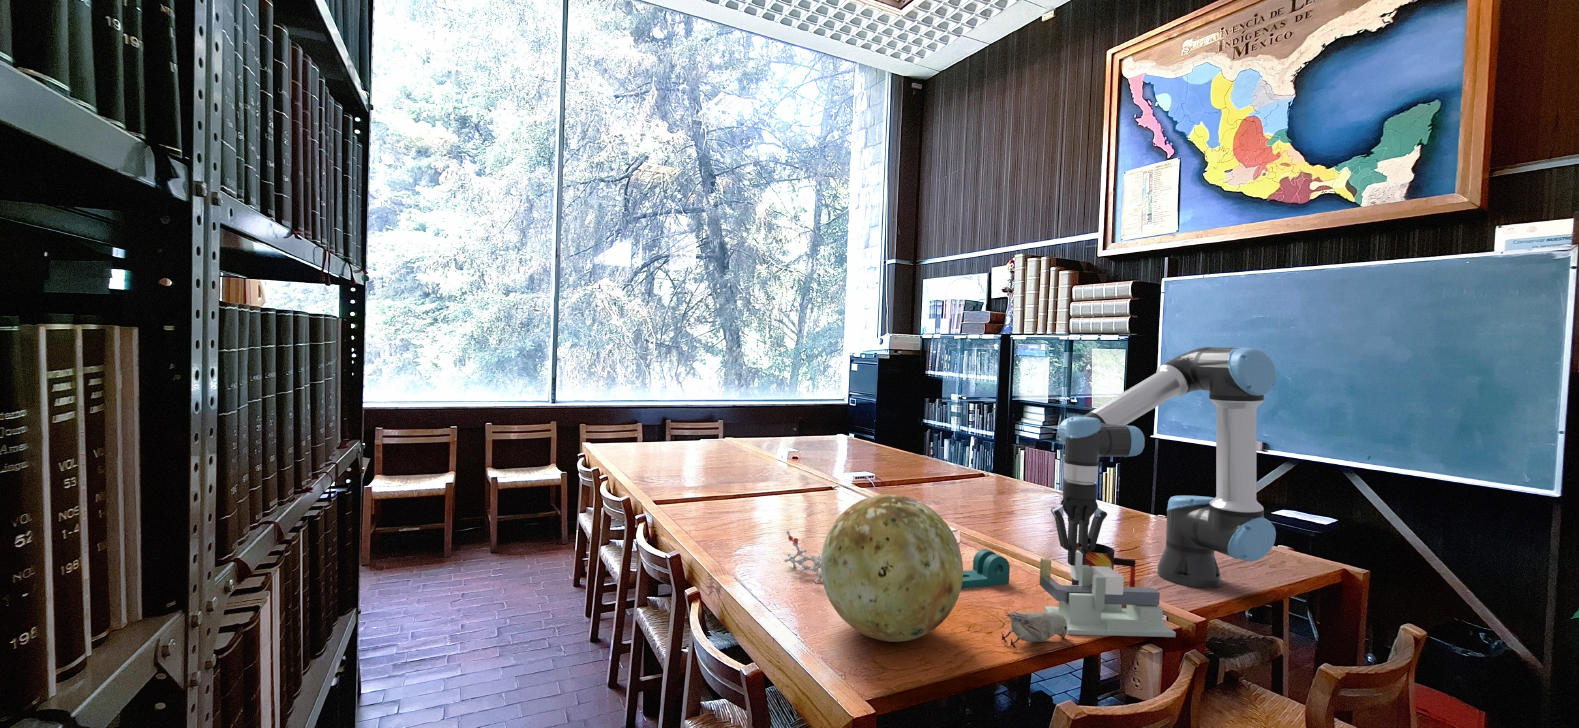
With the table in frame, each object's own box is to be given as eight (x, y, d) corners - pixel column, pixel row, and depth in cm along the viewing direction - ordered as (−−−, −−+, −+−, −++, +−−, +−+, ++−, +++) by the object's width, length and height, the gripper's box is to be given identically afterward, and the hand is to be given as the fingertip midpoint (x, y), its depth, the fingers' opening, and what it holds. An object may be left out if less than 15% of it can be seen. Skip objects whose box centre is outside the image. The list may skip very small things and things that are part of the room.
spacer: (1107, 583, 155) (1108, 566, 155) (1123, 594, 148) (1123, 577, 148) (1090, 583, 155) (1091, 566, 155) (1105, 594, 148) (1106, 576, 148)
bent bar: (1135, 589, 160) (1136, 560, 160) (1159, 605, 150) (1160, 575, 150) (1039, 586, 160) (1040, 558, 159) (1056, 602, 150) (1058, 572, 149)
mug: (1135, 599, 167) (1137, 552, 167) (1086, 601, 164) (1088, 554, 164) (1110, 585, 176) (1112, 541, 176) (1063, 587, 174) (1065, 542, 174)
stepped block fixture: (1143, 613, 158) (1145, 563, 158) (1175, 636, 145) (1178, 583, 145) (1043, 610, 158) (1046, 560, 157) (1067, 634, 145) (1070, 580, 144)
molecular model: (845, 585, 171) (845, 548, 170) (810, 593, 167) (810, 554, 166) (811, 559, 188) (811, 525, 188) (779, 565, 184) (778, 531, 183)
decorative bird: (1074, 643, 141) (1075, 608, 140) (1013, 654, 135) (1015, 617, 135) (1055, 633, 146) (1057, 599, 145) (996, 642, 140) (997, 607, 140)
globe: (862, 680, 122) (868, 519, 121) (796, 616, 149) (800, 485, 148) (990, 654, 134) (997, 508, 133) (907, 600, 161) (912, 478, 160)
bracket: (993, 576, 181) (994, 548, 181) (1009, 585, 175) (1010, 555, 175) (936, 581, 176) (937, 552, 175) (949, 590, 169) (951, 560, 169)
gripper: (1099, 478, 162) (1095, 573, 163) (1047, 477, 162) (1042, 572, 163) (1115, 485, 155) (1110, 584, 155) (1060, 483, 154) (1055, 583, 155)
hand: (1075, 578), depth 159 cm, fingers closed
